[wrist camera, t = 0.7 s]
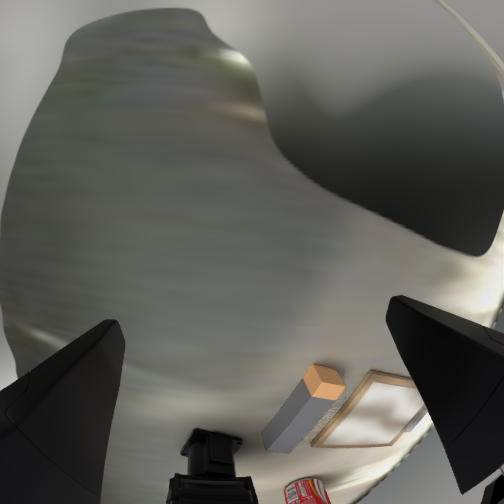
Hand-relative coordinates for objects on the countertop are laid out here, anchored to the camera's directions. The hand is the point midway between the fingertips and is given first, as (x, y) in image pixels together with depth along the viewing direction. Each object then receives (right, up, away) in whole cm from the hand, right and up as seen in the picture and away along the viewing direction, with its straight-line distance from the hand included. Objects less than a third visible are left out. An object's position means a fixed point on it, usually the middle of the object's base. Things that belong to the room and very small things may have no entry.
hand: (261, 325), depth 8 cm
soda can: (+9, -39, +26) cm, 47 cm away
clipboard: (+19, -22, +23) cm, 37 cm away
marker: (+5, -15, +20) cm, 25 cm away
